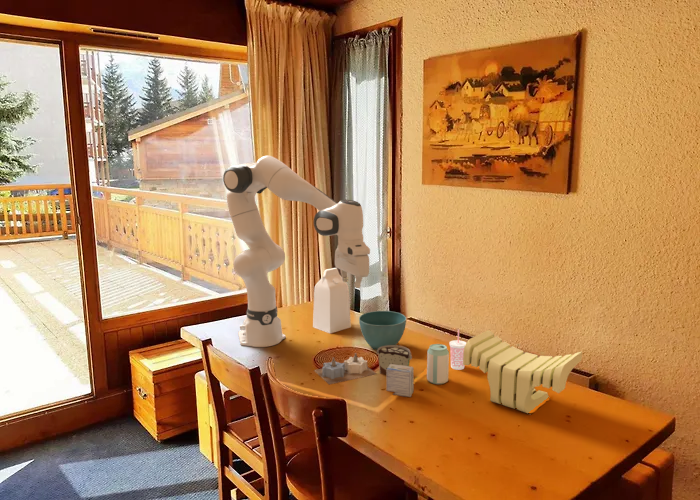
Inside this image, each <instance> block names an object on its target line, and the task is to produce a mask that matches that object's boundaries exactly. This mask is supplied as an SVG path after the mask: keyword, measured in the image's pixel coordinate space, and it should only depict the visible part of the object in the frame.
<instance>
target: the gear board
mask: <svg viewBox="0 0 700 500" xmlns="http://www.w3.org/2000/svg"><path fill="white" fill-rule="evenodd" d="M357 354H358V353H357V352H354V356H353V358H354V362H358V358H359V357H358V355H357ZM331 362H332V367H336V362H337V361H336V360H335V357H332V360H331ZM313 372H314V373H315V374H317V375H318V376H319V377H320V378H321V379H322V380H323V381H324V382H326V383H327V384H328V385H333V384H338V383H342V382H345V381H351V380H357V379H359V378H364V377H365V378H366V377H369V376H373V375H374V376H375V375H377V372H375V371H374V370H373V369H371V368H370V367H368V366H367V370H365V371H363V372H362V374H359V373H351V374H349V373H348V371H347V370H345V373H344V377H338V378H334V379H331V378H329V377H323V376H322V368H318V369H314V370H313Z"/></svg>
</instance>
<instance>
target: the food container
mask: <svg viewBox="0 0 700 500" xmlns="http://www.w3.org/2000/svg"><path fill="white" fill-rule="evenodd" d="M376 355H378V357H377V358H378V365H379V374H381V375H385V376H387V368H388V367H389V365H390V364H394V365H403V366H410V361H411V360H412V358H413V356H412V351H411V350H410V349H409V348H407V347H406V346H403V345H398V344H397V345H387V346H382V347H380V348H378V350H376Z"/></svg>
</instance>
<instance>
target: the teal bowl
mask: <svg viewBox="0 0 700 500" xmlns="http://www.w3.org/2000/svg"><path fill="white" fill-rule="evenodd" d="M358 321H359V328H360V331H361V334H362V336H363V338H364V339H365V341H366V343H367V344H368V346H369V347H370V348H371V349H372V350H375V351H377V350H378V348H380V347H382V346H387V345H398V344H399V342H400V341H401V339H402V337H403V335H404V332H405V329H406V325H407V316H406V315H404V314H402V313H401V312H396V311H391V310H374V311H368V312H365V313H363V314H361V315H360V316H359V317H358Z"/></svg>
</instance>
